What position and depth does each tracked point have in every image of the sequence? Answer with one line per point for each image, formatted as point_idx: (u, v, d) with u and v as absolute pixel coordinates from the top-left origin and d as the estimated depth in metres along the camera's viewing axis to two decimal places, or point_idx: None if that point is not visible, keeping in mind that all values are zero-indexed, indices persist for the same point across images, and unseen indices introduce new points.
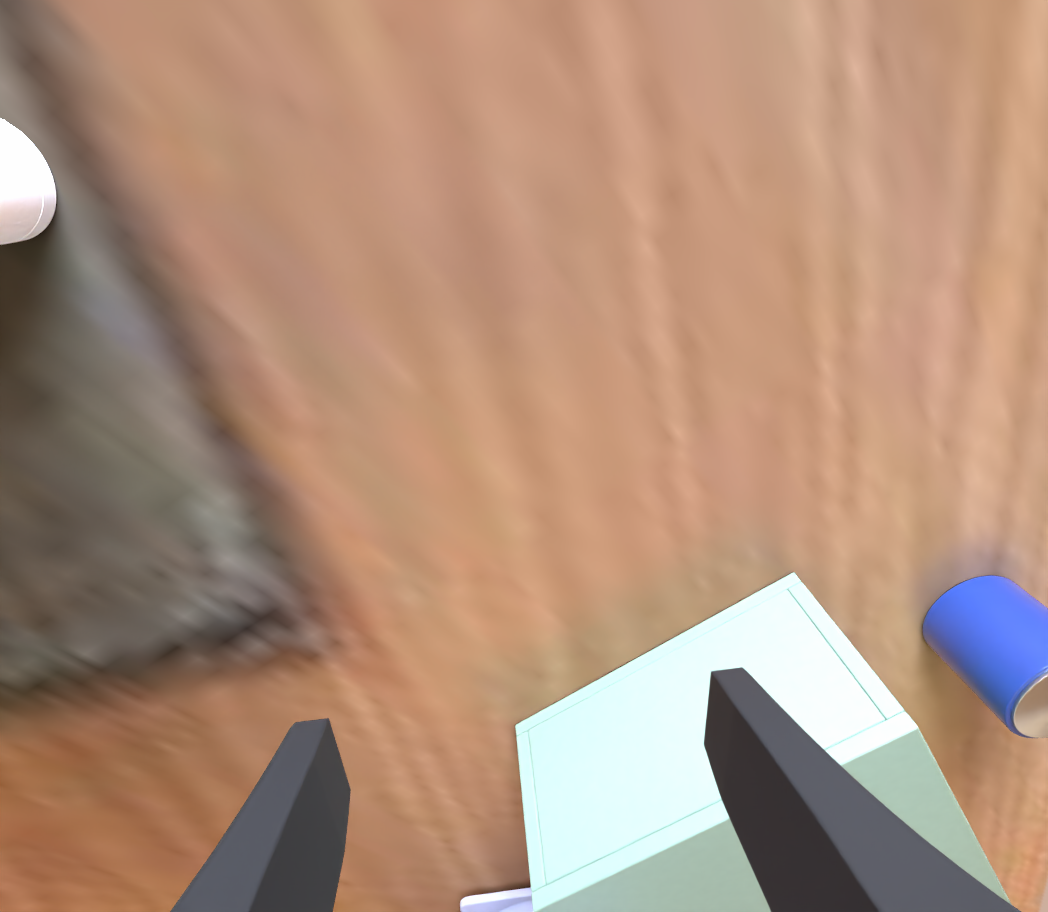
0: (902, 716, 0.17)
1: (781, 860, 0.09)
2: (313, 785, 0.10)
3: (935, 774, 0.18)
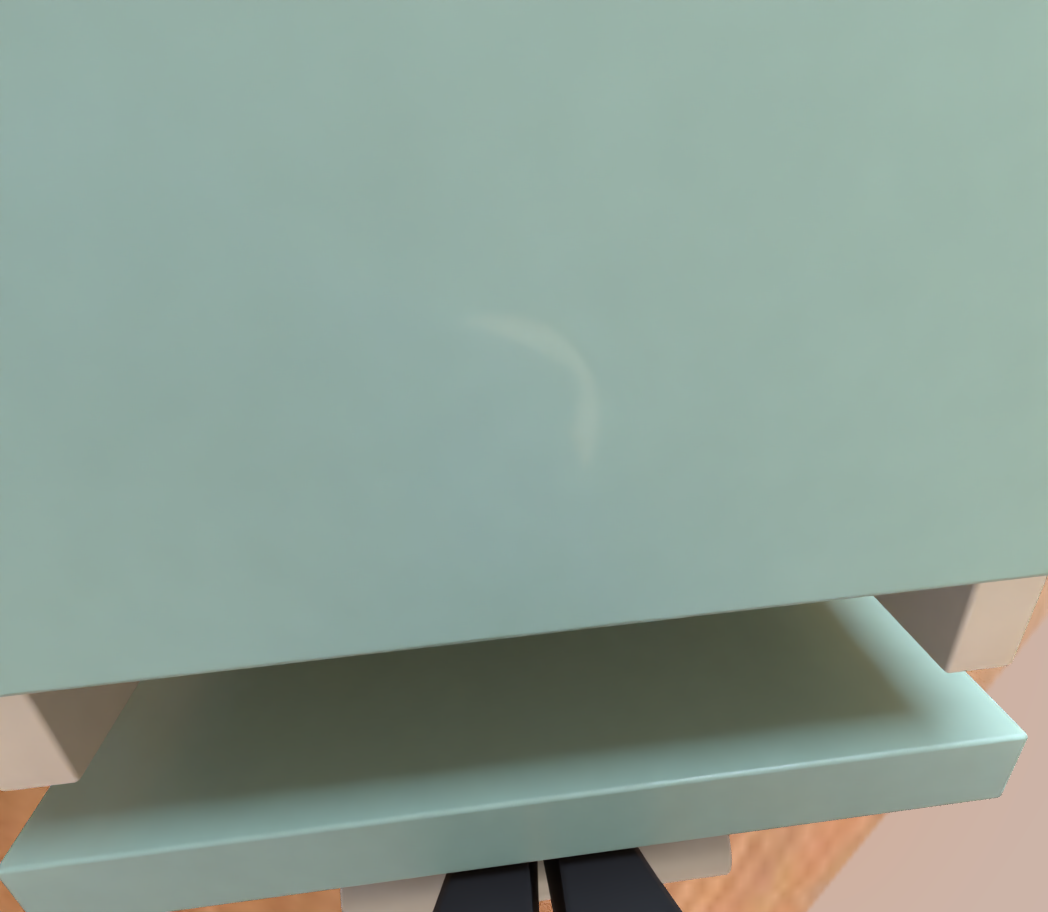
0: None
1: (554, 892, 0.09)
2: None
3: None
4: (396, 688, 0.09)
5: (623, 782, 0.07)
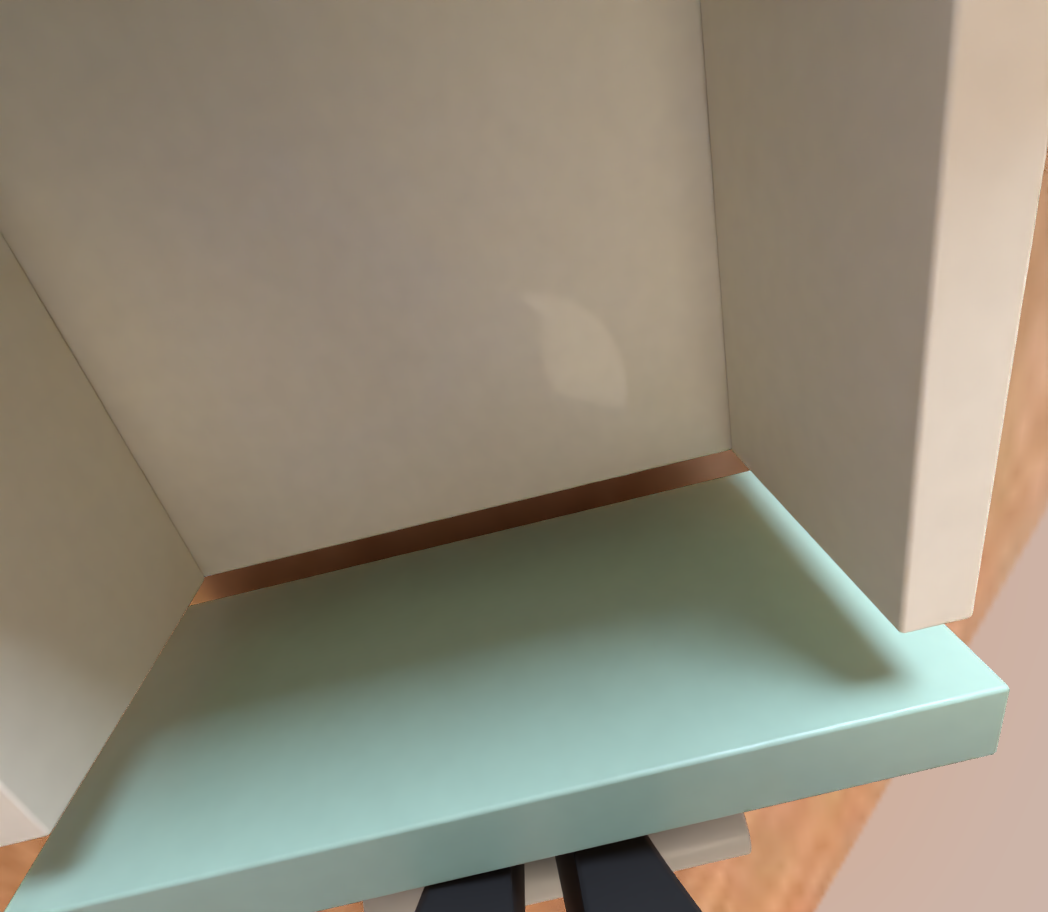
0: None
1: (569, 890, 0.09)
2: None
3: None
4: (367, 708, 0.09)
5: (582, 780, 0.07)
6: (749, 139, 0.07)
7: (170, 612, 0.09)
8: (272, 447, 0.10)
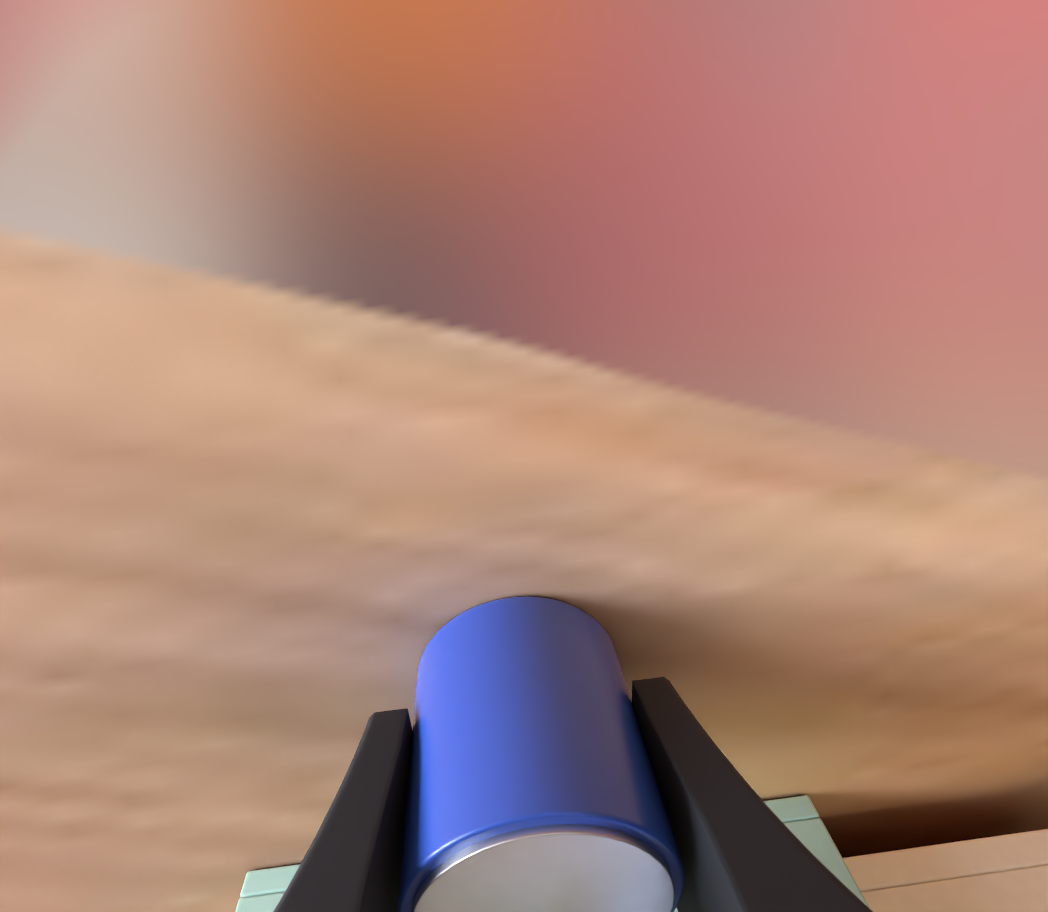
0: None
1: (686, 873, 0.09)
2: (401, 774, 0.10)
3: None
4: None
5: None
6: None
7: None
8: None
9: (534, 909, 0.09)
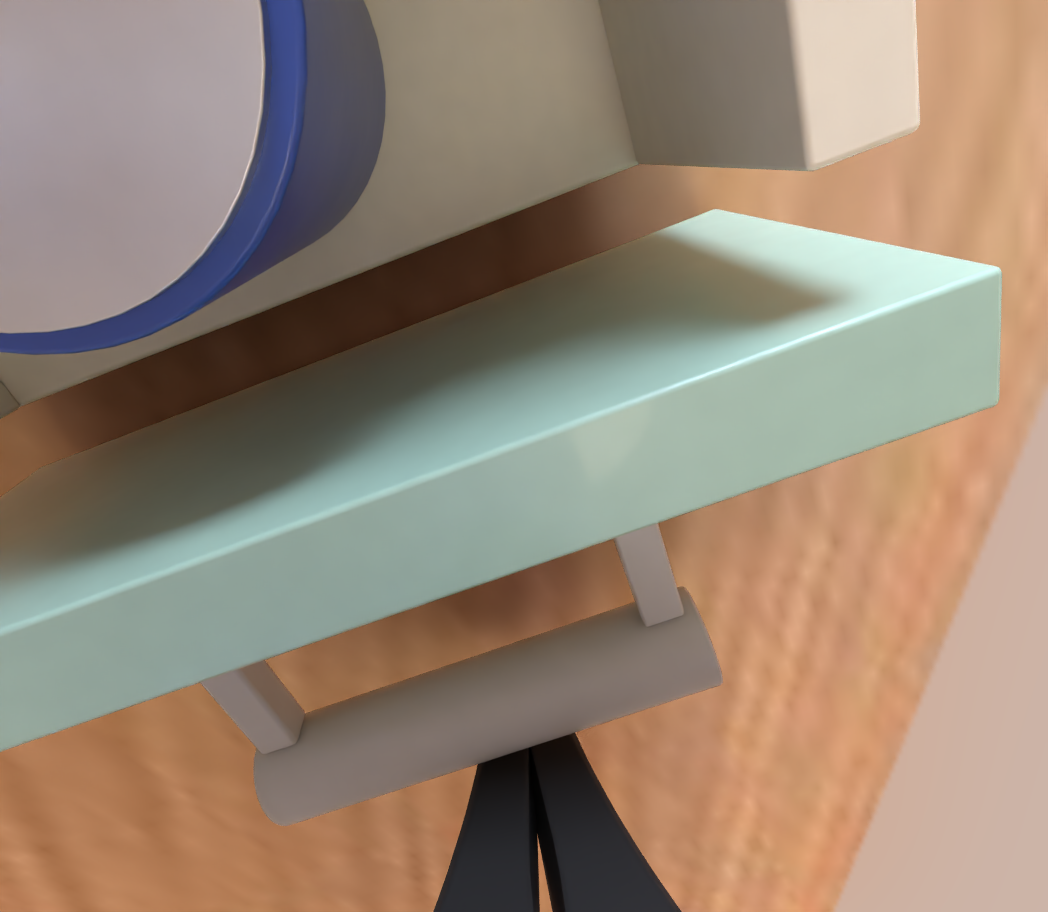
0: None
1: (554, 892, 0.09)
2: (529, 757, 0.10)
3: None
4: (168, 491, 0.07)
5: (382, 485, 0.05)
6: None
7: None
8: None
9: None
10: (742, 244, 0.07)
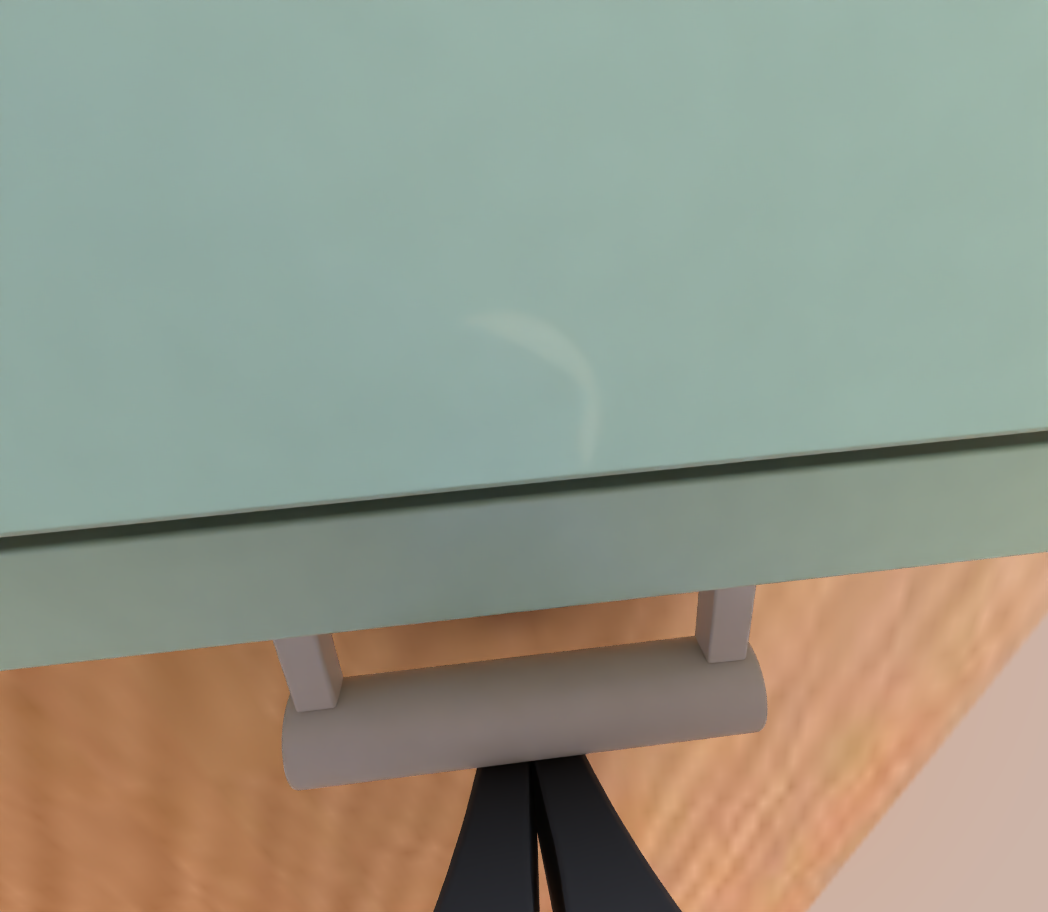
0: None
1: (554, 892, 0.09)
2: None
3: None
4: None
5: (640, 480, 0.05)
6: None
7: None
8: None
9: None
10: None
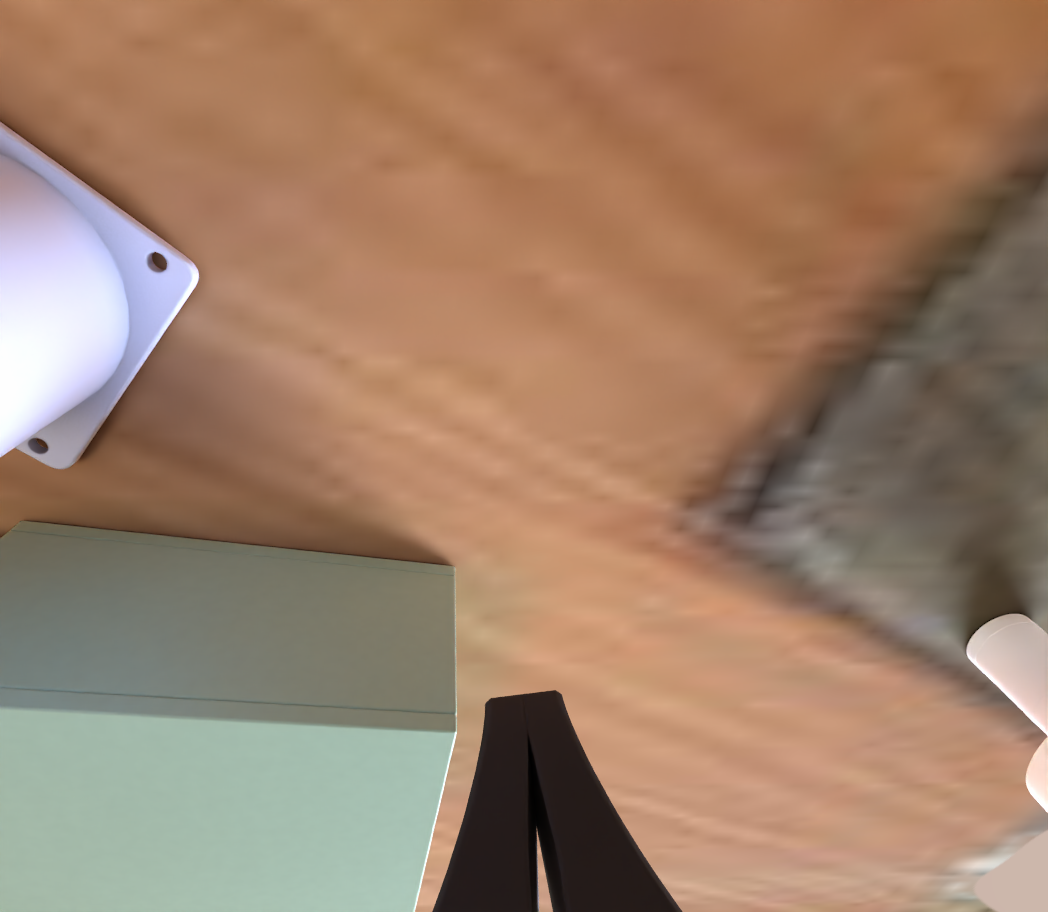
0: None
1: (555, 892, 0.09)
2: (528, 757, 0.10)
3: None
4: None
5: None
6: None
7: None
8: None
9: None
10: None
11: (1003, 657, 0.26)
